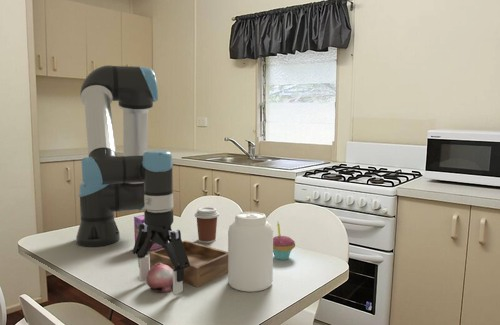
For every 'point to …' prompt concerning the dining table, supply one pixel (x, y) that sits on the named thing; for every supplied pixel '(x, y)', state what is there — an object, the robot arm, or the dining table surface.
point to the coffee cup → (206, 224)
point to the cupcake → (282, 246)
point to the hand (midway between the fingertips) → (160, 286)
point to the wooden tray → (196, 262)
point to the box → (137, 222)
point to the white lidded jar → (250, 252)
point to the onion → (160, 278)
